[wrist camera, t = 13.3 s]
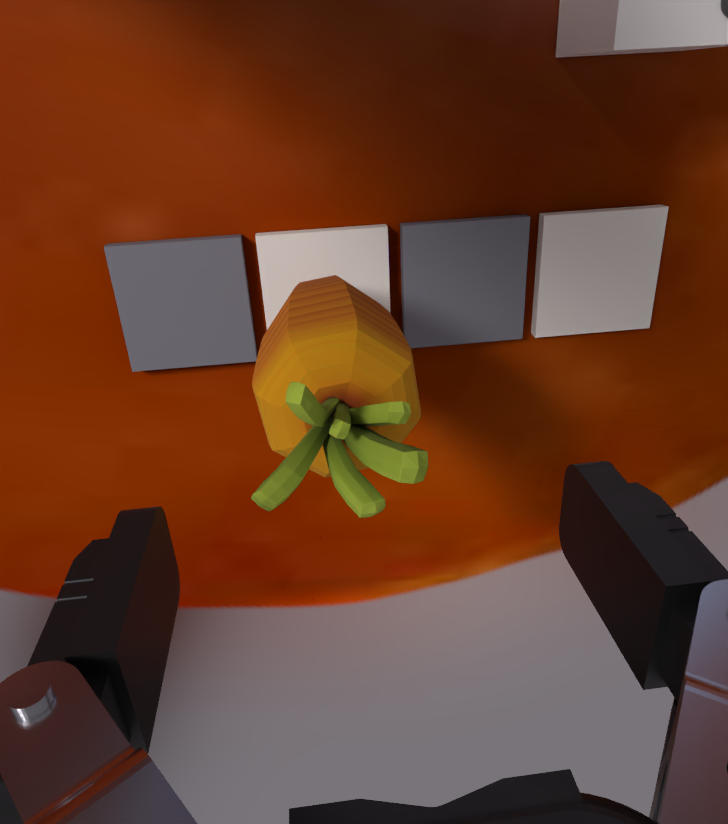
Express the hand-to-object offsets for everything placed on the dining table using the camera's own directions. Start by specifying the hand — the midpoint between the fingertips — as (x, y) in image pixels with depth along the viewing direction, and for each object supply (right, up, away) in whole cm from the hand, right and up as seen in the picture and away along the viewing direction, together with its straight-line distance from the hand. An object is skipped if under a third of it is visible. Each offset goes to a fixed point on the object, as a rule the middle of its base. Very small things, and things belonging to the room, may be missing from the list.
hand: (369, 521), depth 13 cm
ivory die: (+10, +18, +11) cm, 23 cm away
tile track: (+1, +8, +15) cm, 17 cm away
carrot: (-2, +7, +15) cm, 17 cm away
